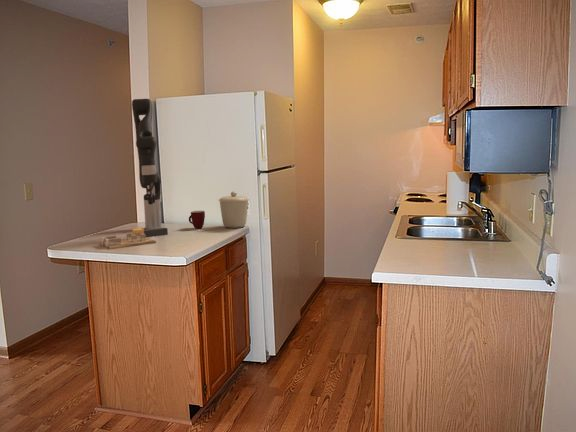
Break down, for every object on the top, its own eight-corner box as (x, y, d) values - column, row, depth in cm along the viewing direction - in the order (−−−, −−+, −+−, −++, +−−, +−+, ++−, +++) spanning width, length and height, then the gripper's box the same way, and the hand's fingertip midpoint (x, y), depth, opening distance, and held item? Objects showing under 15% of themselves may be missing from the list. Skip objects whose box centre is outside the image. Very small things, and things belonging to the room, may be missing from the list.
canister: (245, 229, 289) (244, 193, 286) (215, 229, 293) (213, 192, 290) (253, 224, 307) (252, 190, 303) (225, 223, 310) (224, 189, 307)
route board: (100, 243, 253) (99, 235, 253) (144, 238, 267) (143, 229, 266) (110, 249, 241) (109, 239, 240) (156, 242, 254) (155, 234, 254)
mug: (185, 229, 294) (184, 212, 292) (192, 226, 301) (191, 210, 300) (201, 229, 290) (200, 212, 289) (207, 227, 298) (207, 210, 296)
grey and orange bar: (135, 239, 265) (135, 230, 265) (132, 237, 269) (132, 229, 268) (168, 234, 276) (167, 226, 275) (164, 233, 280) (164, 225, 279)
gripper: (144, 173, 279) (146, 203, 281) (139, 174, 265) (142, 205, 267) (158, 173, 279) (160, 202, 281) (154, 173, 265) (157, 204, 267)
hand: (151, 203), depth 274 cm, fingers open, 8 cm apart
